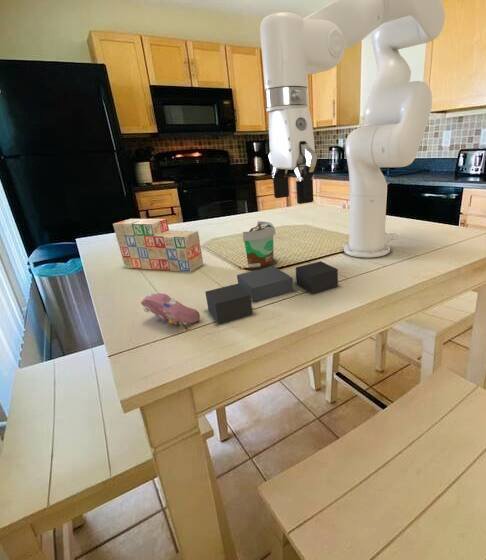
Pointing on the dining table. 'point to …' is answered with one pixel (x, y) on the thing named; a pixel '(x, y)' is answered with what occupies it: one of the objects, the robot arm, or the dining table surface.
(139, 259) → the stack of blocks
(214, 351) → the dining table surface
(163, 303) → the pink toy car
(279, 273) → the base pad
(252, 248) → the food container
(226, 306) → the black pad
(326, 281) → the charcoal pad
